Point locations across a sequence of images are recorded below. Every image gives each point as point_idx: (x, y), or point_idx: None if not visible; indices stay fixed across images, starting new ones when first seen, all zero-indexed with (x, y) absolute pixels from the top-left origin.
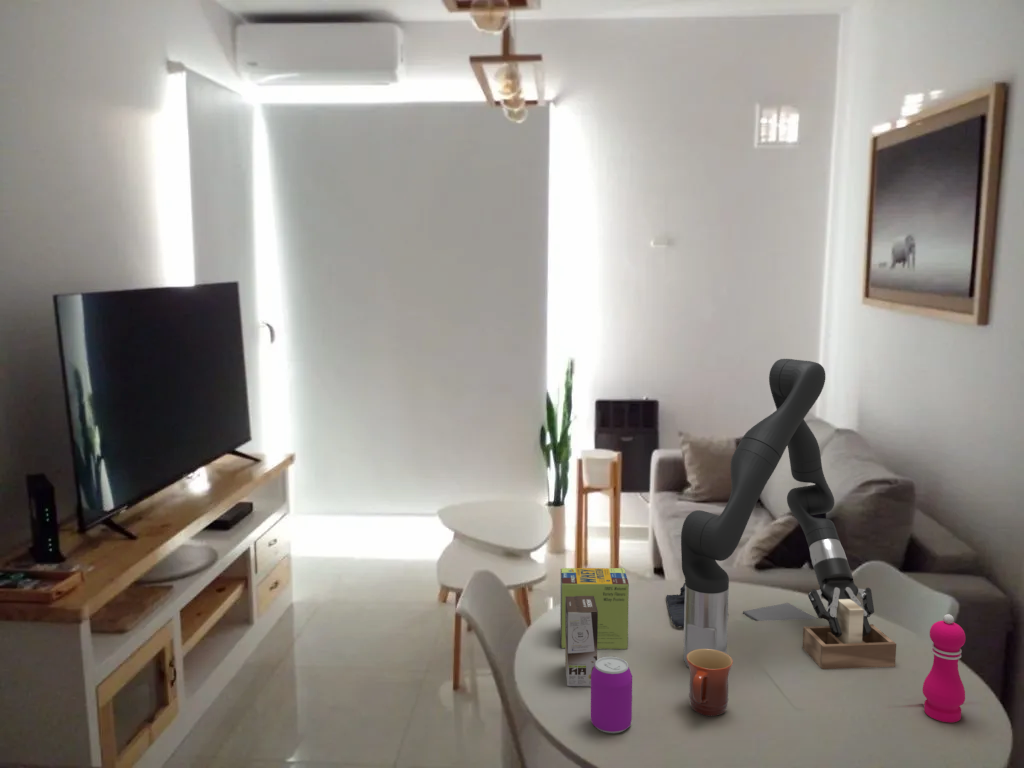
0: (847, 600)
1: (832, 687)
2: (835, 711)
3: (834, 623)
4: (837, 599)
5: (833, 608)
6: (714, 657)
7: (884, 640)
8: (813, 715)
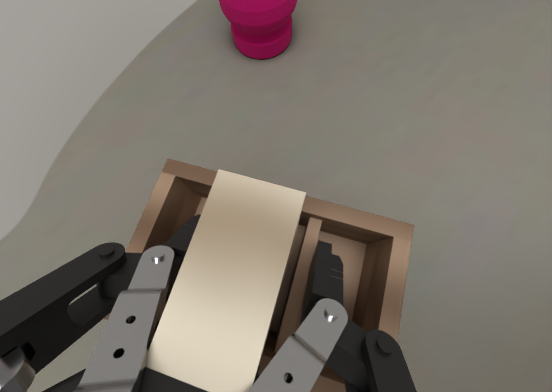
0: (188, 348)
1: (398, 170)
2: (452, 94)
3: (330, 283)
4: (261, 388)
5: (313, 344)
6: None
7: (167, 206)
8: (507, 96)
